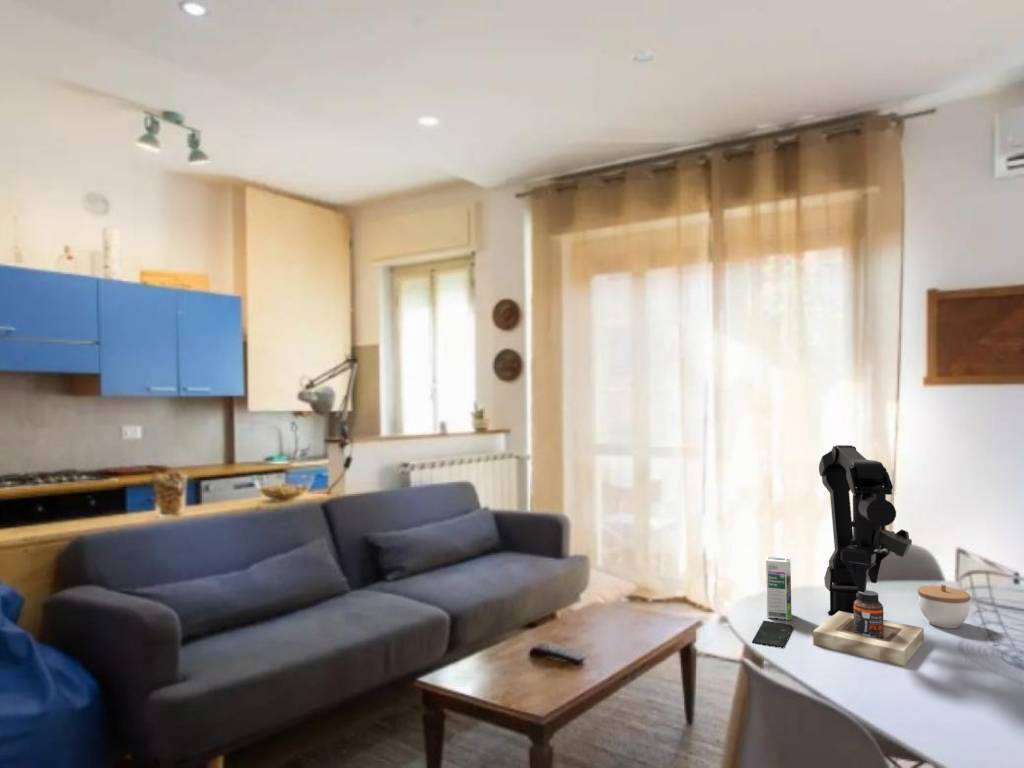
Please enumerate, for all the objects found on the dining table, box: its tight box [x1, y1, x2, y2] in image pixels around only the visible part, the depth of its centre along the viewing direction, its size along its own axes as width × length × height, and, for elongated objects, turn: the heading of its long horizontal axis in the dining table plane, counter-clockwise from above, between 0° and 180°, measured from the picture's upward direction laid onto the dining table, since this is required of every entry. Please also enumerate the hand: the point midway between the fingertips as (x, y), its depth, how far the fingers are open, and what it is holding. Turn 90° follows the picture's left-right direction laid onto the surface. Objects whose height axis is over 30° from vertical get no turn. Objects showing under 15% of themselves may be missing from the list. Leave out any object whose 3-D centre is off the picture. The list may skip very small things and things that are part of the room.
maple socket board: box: [812, 611, 925, 667], centre depth 152 cm, size 18×18×3 cm
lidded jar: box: [917, 584, 971, 629], centre depth 164 cm, size 11×11×9 cm
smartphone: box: [751, 620, 794, 649], centre depth 158 cm, size 7×1×15 cm
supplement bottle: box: [854, 589, 884, 639], centre depth 153 cm, size 6×6×11 cm
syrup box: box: [765, 555, 792, 621], centre depth 171 cm, size 6×6×14 cm
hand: (868, 587), depth 152 cm, fingers open, 9 cm apart
